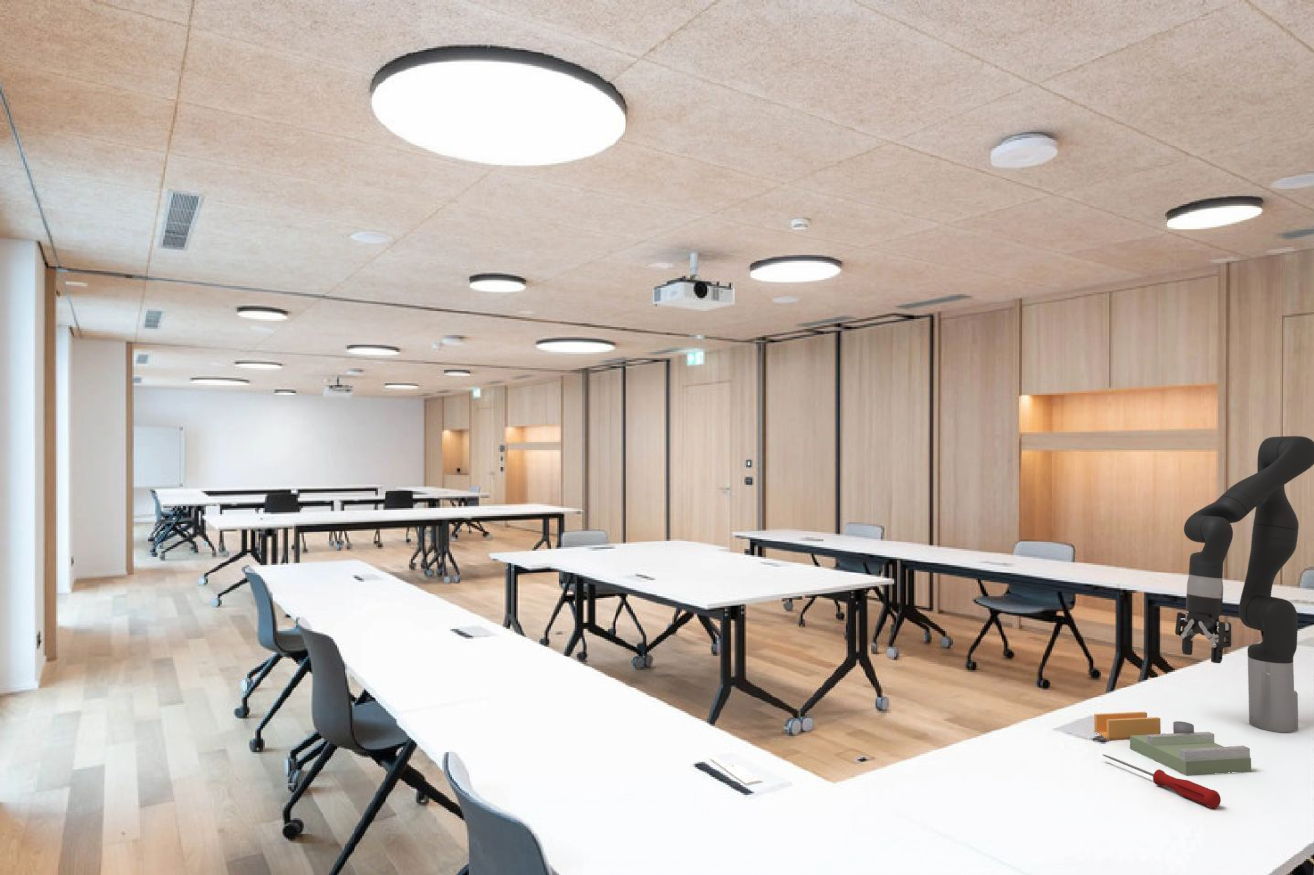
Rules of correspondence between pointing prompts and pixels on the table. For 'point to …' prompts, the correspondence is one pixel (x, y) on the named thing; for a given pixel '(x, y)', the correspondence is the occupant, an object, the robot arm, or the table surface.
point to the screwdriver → (1182, 786)
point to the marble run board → (1170, 758)
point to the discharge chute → (1125, 725)
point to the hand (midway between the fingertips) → (1201, 658)
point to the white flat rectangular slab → (738, 772)
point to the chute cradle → (1198, 753)
